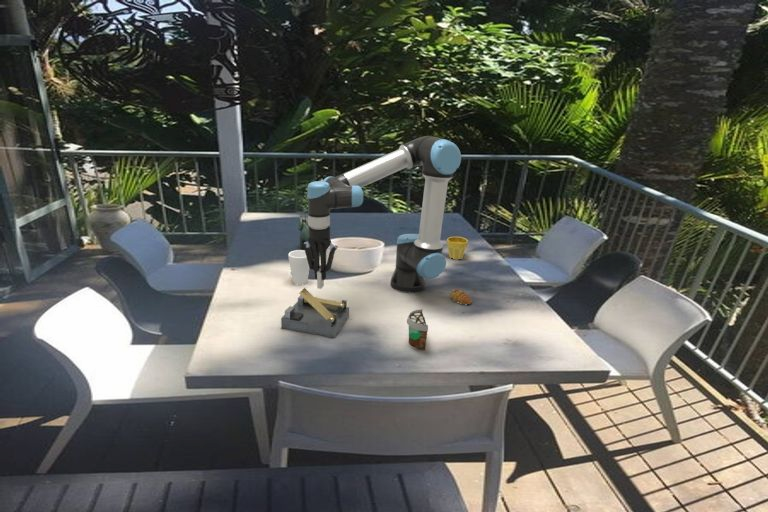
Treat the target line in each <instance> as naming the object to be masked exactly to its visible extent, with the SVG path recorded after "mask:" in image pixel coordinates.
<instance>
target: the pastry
mask: <svg viewBox="0 0 768 512" xmlns="http://www.w3.org/2000/svg"><path fill="white" fill-rule="evenodd" d="M449 298H450V299H452V300H451V301H453V302H454V301H456V302H455V303H457V302H459V303H461V304H460V305H462V304H469V305H471V303H472V299H471V297H470V296H469V295H468V294H467V293H466V292H464V291H463V290H460V289H459V288H458V289H453V290H452V291H451V293H450V294H449ZM459 303H458V304H459Z"/></svg>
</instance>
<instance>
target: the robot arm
mask: <svg viewBox="0 0 768 512" xmlns="http://www.w3.org/2000/svg"><path fill="white" fill-rule="evenodd" d="M461 162H462V154H461V151H460V149H459V147H458V146H457V144H455V143H454V142H452V141H450V140H448V139H445V138H439V137H435V136H432V135H426V136H425V135H424V136H421V137H417V138H416V139H413V140H411V141H408V142H406V143H403V144H401V145H400V146H399V148H398V149H396V150H395V151H392V152H389V153H387V154H385V155H383V156H381V157H379V158H376V159H374V160H372V161H369V162H367V163H364V164H363V165H362V164H361V165H360V166H358V167H356V168H354V169H351V170H349V171H346V172H344V173H342V174H339V175H336V176H331V175H330V176H327V177H325V178H324V179H323V180H321V181H315V180H314V181H312V182H309V183H308V185H307V190H306V191H307V194H306V197H307V210H308V211H307V217H308V225H309V239H308V241H307V242H305V243H303V244H302V247H303V248H304V250H305V253H306V257H307V261H308V264H309V270H313V272H314V279H315V280H316V284H317V285H316V286H317V289H320V290H322V289H323V287H324V286H325V280H326V278H327V272H329V271H330V270H331V269H332V266H333V262H334V257H335V253H336V251H337V249H338V248H339V247H338V245H334V243H332V240H331V227H330V225H331V210H335V209H344V208H345V209H347V208H356V207H360V206H362V205H363V203H364V191H363V189H362V188H363V187H366V186H368V185H371V184H372V183H375V182H377V181H379V180H381V179H383V178H386V177H388V176H390V175H393V174H395V173H397V172H399V171H402V170H404V169H406V168H407V169H412V168H414V167H419V166H422V171H421V174H422V176H423V177H424V180H425V181H424V186H423V188H424V189H423V195H422V197H423V198H422V205H421V214H420V221H419V222H420V223H419V229H418V233H404V234H401V235H399V236H398V237H397V241H396V256H395V269H394V271H393V274H392V275H391V278H390V287H391V288H392V289H394V290H395V291H399V292H402V293H417V292H418V291H419V292H421V291H424V290H425V288H426V280H433V279H436V278H438V277H439V276H440V275H441V274H443V272H444V271H445V269H446V266H447V260H446V257H445V256H444V254H443V249H444V244H443V243H442V242H441V235H442V227H443V221H444V213H445V206H446V198H447V191H448V184H449V181H450V180H452V179H453V176H454V173H455V172H456V171H457V170H458V169H459V167H460V165H461ZM310 246H311V247H312V249H313V254H314V260H313V256H312V252H311V248H310ZM328 249H329V253H328V257H327V250H328Z"/></svg>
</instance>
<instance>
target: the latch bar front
mask: <svg viewBox="0 0 768 512" xmlns="http://www.w3.org/2000/svg"><path fill="white" fill-rule="evenodd" d="M298 294H299V296H300V295H301V296H302V297H303V298H304V299H305V300H307V301H308V302H309V303H310V304H311V305H312V306H313V307H314V308H315V309H316V310H317V311H318V312H319V313H320V314H321V315H322V316H323V317H324V318H325V319H326V320H327V319H331V320H332V322H333V321H334V320H335V316H333V315H332V314H331V313H330V312H329V311H328V310H327V309H326V308H325V307H324V306H323V305H322V304H321V303H320V302H319V301H318V300H317V299H316V298H317V297H316V298H315V296H314V295H313V294H312V293H310V291H309V290H308V289H307V288H306V287H304V288H302V290H301V291H300V292H299V293H298Z"/></svg>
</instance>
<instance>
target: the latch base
mask: <svg viewBox="0 0 768 512" xmlns="http://www.w3.org/2000/svg"><path fill="white" fill-rule="evenodd" d="M347 301H348V300H344V299H342V300H341V302H344V303H345V304H346V305H345V306H344V308H343V306H340V305H338V308H332V307H327V306H324V307H325V308H326V309H327V310H328V311H329V312H330V313H331V314H332V315H333V316H335V320H334V321H333V322H332V320H331V319H327V320H326V319H325V318H324V317H323V316H322V315H321V314H320V313H319V312H318V311H317V310H316V309H315V308H314V307H313V306H312V305H311V304H310V303H307V302H304V298H303V297H302V296H301V295H300V294H299V296H298V297H297V301H296V303H294V304H293V305H292V306H291V305H289V306H288V307H287V308H286V309H285V310H284V315H283V316H281V318H280V325H281V329H285V330H290V331H295V332H301V333H307V334H311V335H318V336H323V337H330V338H334V339H335V338H336V336H337V335H338V334H339V332H340V331H341V329H342V328H343V326H344V325H345V324H346V322H347V320H349V318H350V306H347V304H348V303H347Z"/></svg>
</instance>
